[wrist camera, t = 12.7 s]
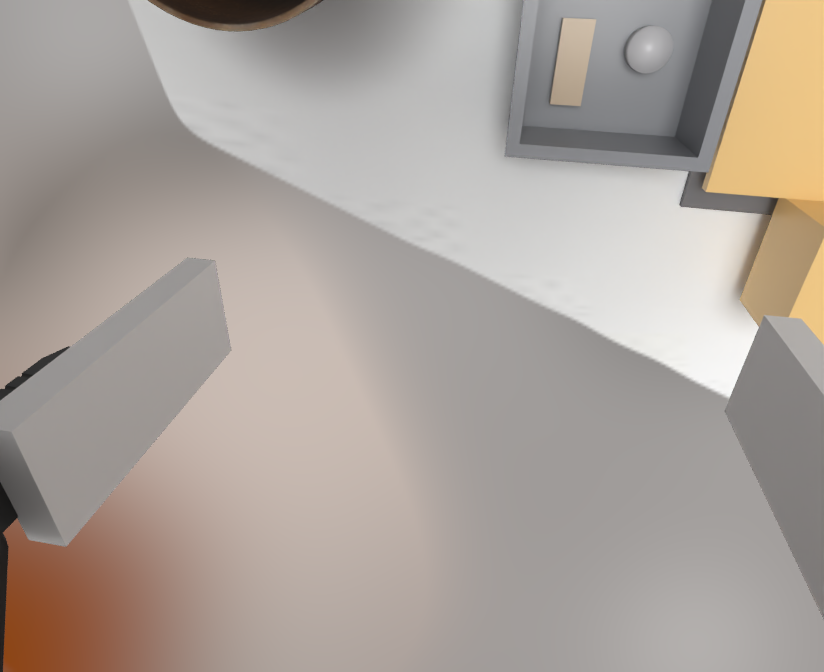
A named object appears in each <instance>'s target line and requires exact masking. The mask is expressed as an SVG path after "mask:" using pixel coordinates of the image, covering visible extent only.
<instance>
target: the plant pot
mask: <svg viewBox="0 0 824 672" xmlns="http://www.w3.org/2000/svg"><path fill="white" fill-rule="evenodd" d="M148 1H149V2H151V3H152V4H154V5H156V6H157V7H159V8H160V9H162V10H164V11H165V12H167V13H169V14H171V15H173V16H175V17H177V18H179V19H182V20H184V21H187V22H189V23H192V24H195V25H198V26H202V27H205V28H210V29H215V30H222V31H252V30H257V29H263V28H268V27H271V26H274V25H278V24H280V23H283V22H285V21H288V20H290V19H292V18H293V17H295V16H297V15H299V14H301V13H303V12H305V11H306V10H308V9H310V8H312V7H314V6H315V5H317V4H318V3H320V2H322V1H323V0H148Z"/></svg>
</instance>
